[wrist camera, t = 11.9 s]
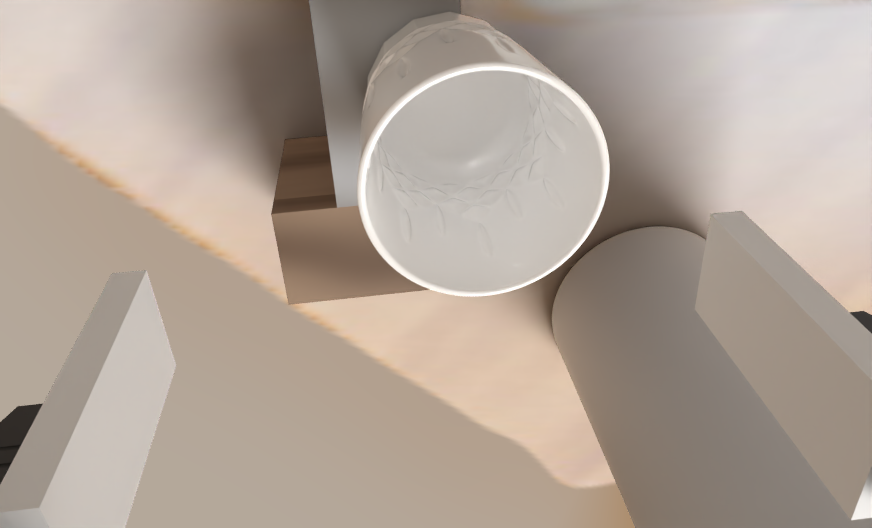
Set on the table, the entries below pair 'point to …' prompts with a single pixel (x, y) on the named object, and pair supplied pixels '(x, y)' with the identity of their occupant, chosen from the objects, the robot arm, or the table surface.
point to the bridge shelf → (324, 233)
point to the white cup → (475, 159)
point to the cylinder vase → (677, 396)
